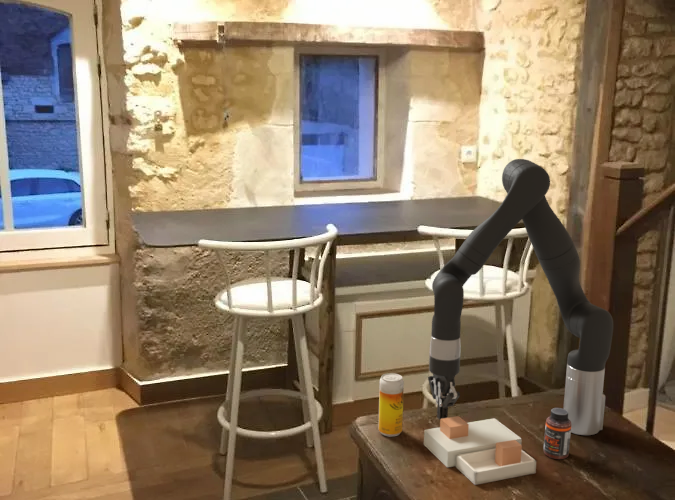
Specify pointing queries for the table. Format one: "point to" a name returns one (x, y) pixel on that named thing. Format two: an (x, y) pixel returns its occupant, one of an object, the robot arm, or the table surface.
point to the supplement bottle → (557, 434)
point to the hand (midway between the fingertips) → (442, 418)
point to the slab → (467, 440)
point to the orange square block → (454, 427)
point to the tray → (492, 466)
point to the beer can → (391, 404)
